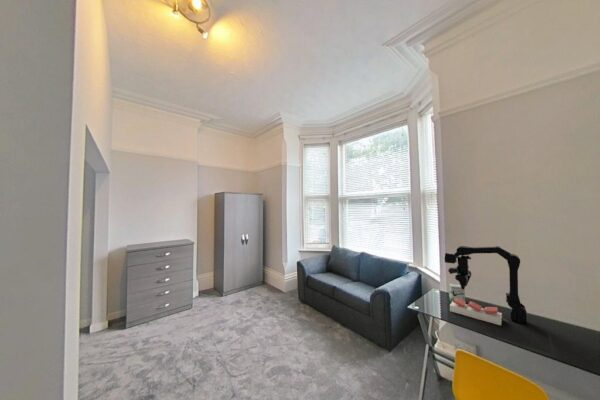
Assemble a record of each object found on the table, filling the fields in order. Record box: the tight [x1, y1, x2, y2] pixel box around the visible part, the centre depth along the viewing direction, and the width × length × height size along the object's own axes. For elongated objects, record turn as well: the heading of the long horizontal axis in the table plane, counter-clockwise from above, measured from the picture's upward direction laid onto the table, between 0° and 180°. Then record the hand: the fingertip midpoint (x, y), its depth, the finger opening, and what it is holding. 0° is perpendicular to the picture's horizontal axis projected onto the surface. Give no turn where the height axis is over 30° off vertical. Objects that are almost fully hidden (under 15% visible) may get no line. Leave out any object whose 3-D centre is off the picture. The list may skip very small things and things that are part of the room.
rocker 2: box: [467, 300, 482, 311], centre depth 138 cm, size 6×6×2 cm
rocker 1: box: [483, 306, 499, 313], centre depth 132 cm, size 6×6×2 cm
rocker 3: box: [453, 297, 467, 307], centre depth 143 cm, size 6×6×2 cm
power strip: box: [449, 301, 509, 326], centre depth 137 cm, size 28×9×4 cm, turn 44°
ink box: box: [448, 283, 466, 303], centre depth 157 cm, size 9×5×12 cm, turn 73°
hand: (464, 287), depth 147 cm, fingers open, 9 cm apart
